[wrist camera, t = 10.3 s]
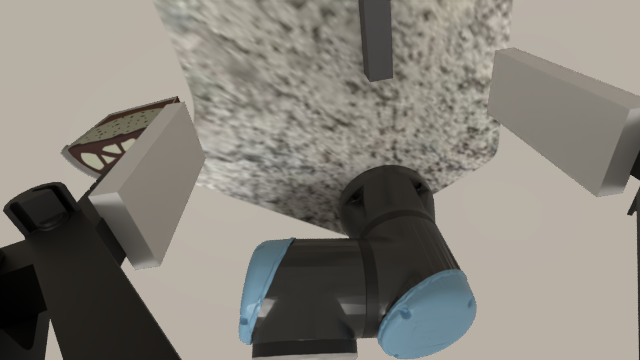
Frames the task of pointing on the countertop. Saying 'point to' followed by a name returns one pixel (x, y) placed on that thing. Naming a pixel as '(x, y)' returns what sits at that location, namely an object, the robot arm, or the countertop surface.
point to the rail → (376, 39)
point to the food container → (111, 138)
